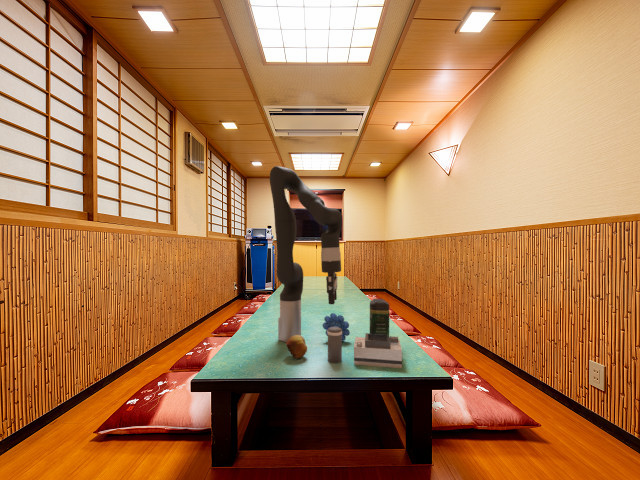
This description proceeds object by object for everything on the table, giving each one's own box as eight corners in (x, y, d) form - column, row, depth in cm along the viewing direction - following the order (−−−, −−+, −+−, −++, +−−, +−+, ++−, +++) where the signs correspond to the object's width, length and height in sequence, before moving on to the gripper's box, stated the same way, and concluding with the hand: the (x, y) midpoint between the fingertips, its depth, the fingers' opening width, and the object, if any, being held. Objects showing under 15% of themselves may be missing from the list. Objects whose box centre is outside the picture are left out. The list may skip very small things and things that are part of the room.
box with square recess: (353, 364, 100) (353, 341, 100) (355, 352, 110) (355, 331, 110) (401, 368, 97) (401, 344, 97) (399, 355, 107) (399, 334, 108)
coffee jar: (391, 349, 114) (390, 302, 114) (370, 348, 115) (370, 301, 115) (387, 341, 124) (387, 297, 124) (368, 340, 124) (368, 297, 124)
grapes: (321, 344, 120) (321, 315, 120) (323, 338, 126) (323, 311, 126) (349, 345, 118) (349, 315, 119) (349, 339, 125) (349, 312, 125)
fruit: (300, 363, 101) (300, 340, 101) (281, 358, 105) (281, 336, 105) (311, 356, 107) (311, 334, 107) (293, 351, 111) (293, 331, 111)
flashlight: (326, 362, 101) (326, 330, 101) (328, 356, 106) (328, 326, 107) (341, 363, 100) (341, 331, 100) (342, 357, 105) (342, 326, 106)
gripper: (323, 259, 119) (325, 299, 118) (318, 260, 105) (320, 305, 104) (342, 258, 118) (343, 298, 117) (339, 259, 104) (341, 305, 103)
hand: (332, 302), depth 110 cm, fingers open, 8 cm apart
